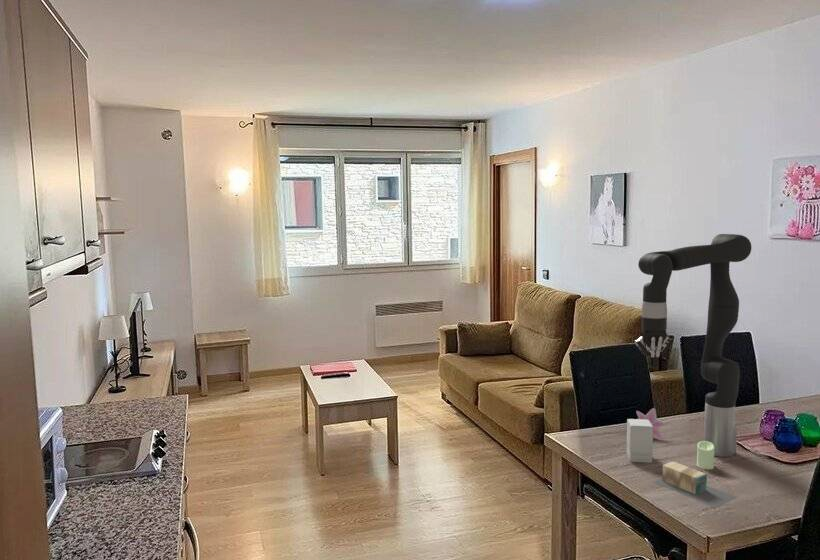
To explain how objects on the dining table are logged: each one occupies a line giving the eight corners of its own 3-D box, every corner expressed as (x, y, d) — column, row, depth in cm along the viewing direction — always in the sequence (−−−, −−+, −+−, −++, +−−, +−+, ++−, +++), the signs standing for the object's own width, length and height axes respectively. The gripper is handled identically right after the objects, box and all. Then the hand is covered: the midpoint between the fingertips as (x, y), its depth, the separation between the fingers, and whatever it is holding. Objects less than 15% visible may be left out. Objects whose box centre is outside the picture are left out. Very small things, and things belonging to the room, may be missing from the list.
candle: (713, 472, 193) (714, 447, 192) (696, 469, 196) (696, 445, 195) (714, 466, 198) (714, 442, 197) (697, 463, 200) (698, 439, 199)
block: (706, 474, 179) (672, 461, 189) (696, 478, 177) (662, 465, 186) (706, 490, 180) (672, 476, 190) (696, 494, 177) (662, 480, 187)
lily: (624, 439, 225) (632, 422, 220) (630, 418, 234) (637, 401, 228) (657, 452, 221) (665, 435, 216) (662, 431, 230) (670, 414, 224)
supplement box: (652, 463, 201) (653, 426, 200) (629, 461, 203) (630, 425, 201) (648, 454, 208) (649, 419, 207) (626, 453, 210) (626, 418, 208)
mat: (736, 499, 175) (736, 497, 175) (714, 509, 169) (714, 507, 169) (674, 474, 192) (674, 472, 192) (652, 483, 186) (652, 481, 186)
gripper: (667, 312, 198) (666, 363, 200) (629, 314, 197) (628, 366, 199) (680, 316, 191) (678, 369, 193) (640, 318, 190) (639, 372, 191)
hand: (653, 367), depth 196 cm, fingers closed
